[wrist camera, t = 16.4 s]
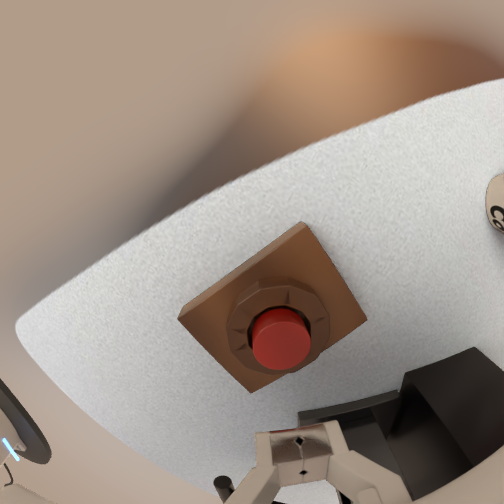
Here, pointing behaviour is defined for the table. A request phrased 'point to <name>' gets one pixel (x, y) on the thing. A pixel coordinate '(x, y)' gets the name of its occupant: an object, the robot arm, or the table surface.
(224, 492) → the toaster lever
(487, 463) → the robot arm
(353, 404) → the toaster bracket
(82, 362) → the table surface
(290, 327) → the button
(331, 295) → the control block
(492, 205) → the cup
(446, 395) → the toaster
